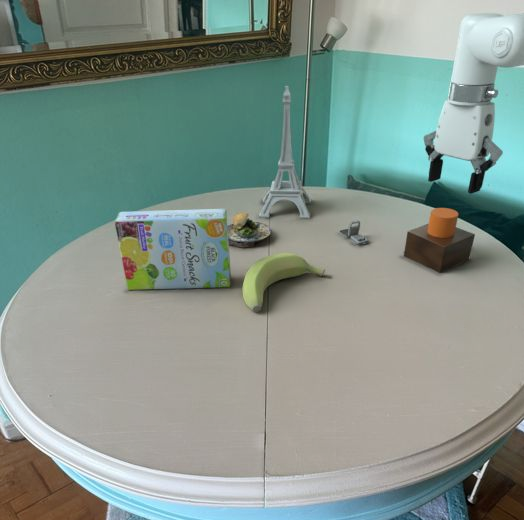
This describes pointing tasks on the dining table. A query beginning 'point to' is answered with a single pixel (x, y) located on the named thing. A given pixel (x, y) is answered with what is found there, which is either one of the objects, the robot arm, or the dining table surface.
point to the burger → (246, 231)
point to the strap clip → (354, 233)
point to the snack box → (174, 248)
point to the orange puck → (442, 222)
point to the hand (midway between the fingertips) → (453, 185)
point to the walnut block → (438, 248)
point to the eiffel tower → (286, 163)
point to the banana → (272, 275)
